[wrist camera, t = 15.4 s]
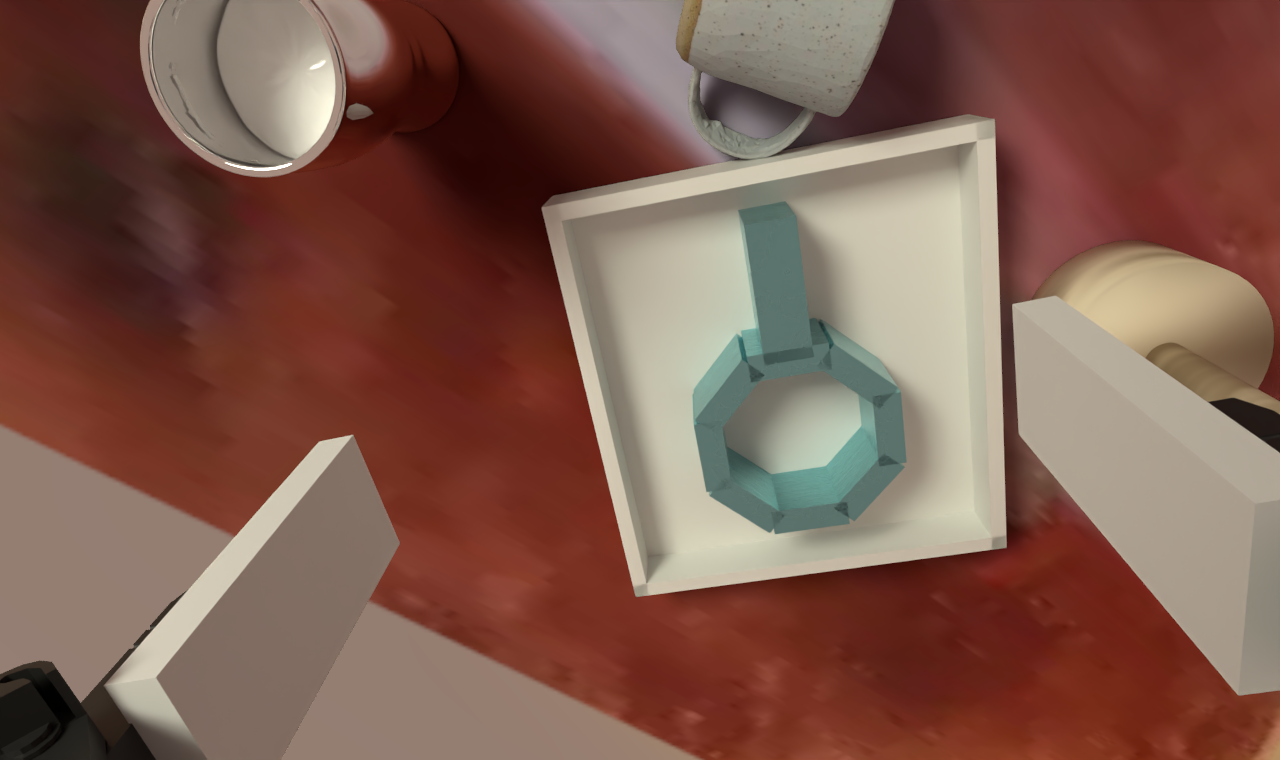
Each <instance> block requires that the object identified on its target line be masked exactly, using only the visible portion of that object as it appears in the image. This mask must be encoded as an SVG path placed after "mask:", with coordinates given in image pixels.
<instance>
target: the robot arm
mask: <svg viewBox="0 0 1280 760" xmlns="http://www.w3.org/2000/svg"><path fill="white" fill-rule="evenodd" d="M1012 310H1013V330H1014V350H1015V370H1016V390H1017V410H1018V429H1019V435H1020V436H1021V438H1022V439H1023V440H1024V441H1025V442H1026V444H1027V445H1028V446H1029V447H1030V448H1031V449H1032V451H1033V452H1034V453H1035V454H1036V455H1037V457H1038V458H1039V459H1040V460H1041V461H1042V463H1043V464H1044V465H1045V466H1046V467H1047V469H1048V470H1049V471H1050V472H1051V473H1052V474H1053V476H1054V477H1055V478H1056V479H1057V480H1058V482H1059V483H1060V484H1061V485H1062V486H1063V488H1064V489H1065V490H1066V491H1067V492H1068V494H1069V495H1070V496H1071V497H1072V498H1073V499H1074V501H1075V502H1076V503H1077V504H1078V505H1079V507H1080V508H1081V509H1082V510H1083V511H1084V513H1085V514H1086V515H1087V516H1088V517H1089V519H1090V520H1091V521H1092V522H1093V523H1094V524H1095V526H1096V527H1097V528H1098V529H1099V530H1100V532H1101V533H1102V534H1103V535H1104V536H1105V538H1106V539H1107V540H1108V541H1109V542H1110V543H1111V545H1112V546H1113V547H1114V548H1115V549H1116V551H1117V552H1118V553H1119V554H1120V555H1121V557H1122V558H1123V559H1124V560H1125V561H1126V563H1127V564H1128V565H1129V566H1130V567H1131V568H1132V570H1133V571H1134V572H1135V573H1136V574H1137V576H1138V577H1139V578H1140V579H1141V580H1142V582H1143V583H1144V584H1145V585H1146V586H1147V588H1148V589H1149V590H1150V591H1151V592H1152V593H1153V595H1154V596H1155V597H1156V598H1157V599H1158V601H1159V602H1160V603H1161V604H1162V605H1163V607H1164V608H1165V609H1166V610H1167V611H1168V613H1169V614H1170V615H1171V616H1172V617H1173V618H1174V620H1175V621H1176V622H1177V623H1178V624H1179V626H1180V627H1181V628H1182V629H1183V630H1184V632H1185V633H1186V634H1187V635H1188V636H1189V637H1190V639H1191V640H1192V641H1193V642H1194V643H1195V645H1196V646H1197V647H1198V648H1199V649H1200V651H1201V652H1202V653H1203V654H1204V655H1205V657H1206V658H1207V659H1208V660H1209V661H1210V662H1211V664H1212V665H1213V666H1214V667H1215V668H1216V670H1217V671H1218V672H1219V673H1220V674H1221V676H1222V677H1223V678H1224V679H1225V680H1226V682H1227V683H1228V684H1229V685H1230V686H1231V687H1232V689H1233V690H1234V691H1235V692H1236V693H1237V695H1238V696H1239V695H1247V694H1255V693H1262V692H1270V691H1278V690H1280V414H1278V413H1277V412H1275V411H1274V410H1271V409H1268V408H1264V407H1261V406H1258V405H1255V404H1252V403H1249V402H1246V401H1243V400H1240V399H1237V398H1234V397H1233V398H1227V399H1222V400H1216V401H1210V402H1207V401H1205V400H1204V399H1202V398H1201V397H1200V396H1198V395H1197V394H1195V393H1194V392H1192V391H1191V390H1190V389H1188V388H1187V387H1185V386H1184V385H1182V384H1181V383H1180V382H1178V381H1177V380H1175V379H1174V378H1173V377H1171V376H1170V375H1168V374H1167V373H1165V372H1164V371H1163V370H1161V369H1160V368H1158V367H1157V366H1155V365H1154V364H1153V363H1151V362H1150V361H1148V360H1147V359H1145V358H1144V357H1143V356H1141V355H1140V354H1138V353H1137V352H1135V351H1134V350H1133V349H1131V348H1130V347H1128V346H1127V345H1126V344H1124V343H1123V342H1121V341H1120V340H1118V339H1117V338H1116V337H1114V336H1113V335H1111V334H1110V333H1108V332H1107V331H1106V330H1104V329H1103V328H1101V327H1100V326H1098V325H1097V324H1096V323H1094V322H1093V321H1091V320H1090V319H1088V318H1087V317H1086V316H1084V315H1083V314H1081V313H1080V312H1079V311H1077V310H1076V309H1074V308H1073V307H1071V306H1070V305H1069V304H1067V303H1066V302H1064V301H1063V300H1061V299H1060V298H1059V297H1057V296H1051V297H1046V298H1041V299H1036V300H1031V301H1026V302H1021V303H1016V304H1012ZM399 544H400V542H399V540H398V538H397V535H396V533H395V531H394V528H393V526H392V524H391V522H390V519H389V517H388V515H387V512H386V510H385V508H384V505H383V503H382V501H381V498H380V496H379V494H378V491H377V489H376V487H375V484H374V482H373V480H372V477H371V475H370V473H369V470H368V468H367V466H366V464H365V461H364V459H363V457H362V454H361V452H360V450H359V447H358V445H357V443H356V440H355V438H354V436H353V435H350V436H345V437H340V438H335V439H330V440H325V441H320V442H318V444H317V445H316V446H315V447H314V448H313V449H312V450H311V452H310V453H309V454H308V455H307V456H306V457H305V458H304V459H303V461H302V462H301V463H300V464H299V465H298V466H297V467H296V468H295V470H294V471H293V472H292V473H291V474H290V475H289V476H288V478H287V479H286V480H285V481H284V482H283V483H282V484H281V485H280V487H279V488H278V489H277V490H276V491H275V492H274V493H273V495H272V496H271V497H270V498H269V499H268V500H267V501H266V502H265V504H264V505H263V506H262V507H261V508H260V509H259V510H258V511H257V513H256V514H255V515H254V516H253V517H252V518H251V519H250V521H249V522H248V523H247V524H246V525H245V526H244V527H243V528H242V530H241V531H240V532H239V533H238V534H237V535H236V536H235V538H234V539H233V540H232V541H231V542H230V543H229V544H228V546H227V547H226V548H225V549H224V550H223V551H222V552H221V553H220V555H219V556H218V557H217V558H216V559H215V560H214V561H213V562H212V564H211V565H210V566H209V567H208V568H207V569H206V571H204V573H203V574H202V575H201V576H200V577H199V578H198V579H197V581H196V582H195V583H194V584H193V585H192V586H191V587H190V589H188V590H187V591H186V592H184V593H183V594H182V595H180V596H179V597H178V598H176V599H175V600H174V601H172V602H171V603H170V604H169V605H168V606H167V608H166V609H165V610H164V611H163V612H162V613H161V614H160V615H159V616H158V618H157V619H156V620H155V621H154V622H153V623H152V624H151V625H150V627H151V628H150V630H146V631H145V632H144V633H143V634H142V635H141V637H140V638H139V639H138V640H137V641H136V642H135V643H134V648H133V649H129V650H128V651H127V652H126V653H125V654H124V655H123V657H122V658H121V659H120V660H119V661H118V662H117V663H116V664H115V666H114V667H113V668H112V669H111V670H110V671H109V672H108V674H107V675H106V676H105V677H104V678H103V679H102V680H101V681H100V682H99V684H98V685H97V686H96V687H95V688H94V689H93V690H92V691H91V692H90V694H89V695H88V696H87V697H86V698H85V699H84V700H83V701H82V702H81V703H80V702H79V700H78V699H77V698H76V696H75V695H74V694H73V692H72V690H71V689H70V687H69V686H68V685H67V683H66V682H65V680H64V679H63V677H62V676H61V674H60V673H59V672H58V670H57V669H56V667H55V666H54V664H53V663H52V662H48V661H36V662H32V663H28V664H24V665H21V666H19V667H16V668H14V669H11V670H9V671H7V672H5V673H3V674H0V760H281V758H282V757H283V755H284V753H285V751H286V749H287V748H288V746H289V744H290V742H291V740H292V738H293V737H294V735H295V733H296V731H297V730H298V728H299V726H300V724H301V722H302V720H303V719H304V717H305V715H306V713H307V711H308V710H309V708H310V706H311V704H312V702H313V700H314V699H315V697H316V695H317V693H318V691H319V690H320V688H321V686H322V684H323V682H324V680H325V679H326V677H327V675H328V673H329V671H330V669H331V668H332V666H333V664H334V662H335V660H336V658H337V657H338V655H339V653H340V651H341V650H342V648H343V646H344V644H345V642H346V640H347V639H348V637H349V635H350V633H351V631H352V629H353V628H354V626H355V624H356V622H357V620H358V619H359V617H360V615H361V613H362V611H363V609H364V608H365V606H366V604H367V602H368V600H369V599H370V597H371V595H372V593H373V591H374V590H375V588H376V586H377V584H378V582H379V580H380V579H381V577H382V575H383V573H384V571H385V570H386V568H387V566H388V564H389V562H390V560H391V559H392V557H393V555H394V553H395V551H396V549H397V548H398V546H399Z"/></svg>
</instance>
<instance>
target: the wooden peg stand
mask: <svg viewBox="0 0 1280 760" xmlns="http://www.w3.org/2000/svg"><path fill="white" fill-rule="evenodd" d="M1051 296H1057V297H1059V298H1060V299H1061V300H1063V301H1064V302H1066V303H1067V304H1069V305H1070V306H1071V307H1073V308H1074V309H1076V310H1077V311H1079V312H1080V313H1081V314H1083V315H1084V316H1086V317H1087V318H1088V319H1090V320H1091V321H1093V322H1094V323H1096V324H1097V325H1098V326H1100V327H1101V328H1103V329H1104V330H1106V331H1107V332H1108V333H1110V334H1111V335H1113V336H1114V337H1116V338H1117V339H1118V340H1120V341H1121V342H1123V343H1124V344H1126V345H1127V346H1128V347H1130V348H1131V349H1133V350H1134V351H1135V352H1137V353H1138V354H1140V355H1141V356H1143V357H1144V358H1145V359H1147V360H1148V361H1150V362H1151V363H1153V364H1154V365H1155V366H1157V367H1158V368H1160V369H1161V370H1163V371H1164V372H1165V373H1167V374H1168V375H1170V376H1171V377H1173V378H1174V379H1175V380H1177V381H1178V382H1180V383H1181V384H1182V385H1184V386H1185V387H1187V388H1188V389H1190V390H1191V391H1192V392H1194V393H1195V394H1197V395H1198V396H1200V397H1201V398H1202V399H1204V400H1205V401H1207V402H1210V401H1216V400H1222V399H1227V398H1233V397H1234V398H1237V399H1240V400H1243V401H1246V402H1249V403H1252V404H1255V405H1258V406H1261V407H1264V408H1268V409H1271V410H1274V411H1275V412H1277V413H1278V414H1280V401H1278V400H1276V399H1274V398H1273V397H1271V396H1269V395H1267V394H1266V393H1264V392H1262V391H1260V390H1259V389H1258V387H1259V386H1260V384H1261V383H1262V381H1263V379H1264V376H1265V374H1266V372H1267V370H1268V367H1269V364H1270V361H1271V358H1272V352H1273V347H1274V328H1273V321H1272V317H1271V314H1270V311H1269V308H1268V306H1267V304H1266V302H1265V301H1264V299H1263V297H1262V296H1261V295H1260V293H1259V292H1258V291H1257V290H1256V289H1255V288H1254V287H1253V286H1252V285H1251V284H1250V283H1249V282H1248V281H1246V280H1245V279H1243V278H1242V277H1240V276H1239V275H1237V274H1235V273H1233V272H1230V271H1228V270H1226V269H1223V268H1221V267H1218V266H1216V265H1213V264H1210V263H1208V262H1205V261H1203V260H1200V259H1197V258H1195V257H1192V256H1190V255H1187V254H1184V253H1182V252H1179V251H1176V250H1174V249H1171V248H1169V247H1166V246H1163V245H1160V244H1157V243H1153V242H1147V241H1140V240H1125V241H1116V242H1111V243H1107V244H1103V245H1099V246H1097V247H1094V248H1091V249H1088V250H1086V251H1084V252H1082V253H1080V254H1078V255H1076V256H1075V257H1073V258H1071V259H1070V260H1068V261H1067V262H1065V263H1064V264H1063V265H1061V266H1060V267H1059V268H1058V269H1056V270H1055V271H1054V272H1053V273H1052V274H1051V275H1050V276H1049V277H1048V278H1047V279H1046V280H1045V281H1044V282H1043V284H1042V285H1041V286H1040V287H1039V289H1038V290H1037V291H1036V293H1035V295H1034V296H1033V298H1032V299H1031V300H1036V299H1041V298H1046V297H1051Z"/></svg>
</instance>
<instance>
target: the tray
mask: <svg viewBox="0 0 1280 760" xmlns="http://www.w3.org/2000/svg"><path fill="white" fill-rule="evenodd" d="M783 201H786V203H787V204H788V205H789V207H790V208H791V209H792V211H793V212H794V213H795V215H796V217H797V226H798V234H799V242H800V250H801V258H802V266H803V274H804V282H805V290H806V298H807V306H808V314H809V319H811V318H816V319H817V321H818V322H819V321H820V319H822V320H823V321H825V322H826V323H828V324H829V325H831V326H832V327H833V328H835V329H836V330H838V331H839V332H841V333H842V334H844V335H845V336H847V337H848V338H849V339H851V340H852V341H854V342H855V343H857V344H858V345H860V346H861V347H863V348H864V349H866V350H867V351H868V352H870V353H871V354H873V355H874V356H876V357H877V358H879V359H880V361H881V362H882V364H883V365H884V367H885V368H886V370H887V371H888V373H889V374H890V376H891V377H892V379H893V380H894V382H895V383H896V385H897V386H898V388H899V390H900V391H901V399H902V411H903V423H904V436H905V448H906V460H907V463H903V465H904V467H905V468H904V469H903V470H902V471H901V472H900V473H899V474H898V475H897V476H896V477H895V478H894V479H893V481H892V482H891V483H890V484H889V485H888V486H887V487H886V488H885V489H884V490H883V491H882V492H881V493H880V495H879V496H878V497H877V498H876V499H875V500H874V501H873V502H872V503H871V504H870V505H869V506H868V507H867V509H866V510H865V511H864V512H863V513H862V514H861V515H860V516H859V517H858V518H857V519H856V520H855V521H853V520H852V519H850V518H849V521H850V524H845V525H838V526H831V527H824V528H816V529H809V530H802V531H795V532H788V533H781V534H775V533H774V529H773V530H772V531H771V532H770V533H768V532H767V531H765V530H764V529H762V528H760V527H759V526H757V525H755V524H754V523H752V522H751V521H749V520H747V519H746V518H744V517H742V516H741V515H739V514H738V513H736V512H734V511H733V510H731V509H729V508H728V507H726V506H725V505H723V504H721V503H720V502H718V501H716V500H715V499H713V498H712V497H710V496H709V492H706V487H705V482H704V477H703V472H702V466H701V461H700V456H699V451H698V445H697V440H696V435H695V430H694V423H693V397H692V394H694V388H695V387H696V385H697V384H698V383H699V381H700V380H701V379H702V378H703V376H704V375H705V374H706V372H707V371H708V370H709V368H710V367H711V366H712V365H713V363H714V362H715V361H716V359H717V358H718V357H719V355H720V354H721V353H722V351H723V350H724V349H725V348H726V346H727V345H728V344H729V342H730V341H731V340H732V338H733V337H734V336H735V334H736V333H737V334H738V335H740V336H741V337H742V334H741V330H747V329H753V328H756V326H755V320H754V313H753V307H752V300H751V293H750V287H749V280H748V273H747V267H746V260H745V253H744V247H743V240H742V234H741V227H740V220H739V214H738V210H741V209H746V208H752V207H757V206H762V205H768V204H773V203H778V202H783ZM541 208H542V212H543V217H544V221H545V225H546V229H547V233H548V237H549V241H550V245H551V250H552V254H553V258H554V262H555V266H556V270H557V274H558V278H559V283H560V287H561V291H562V295H563V299H564V303H565V307H566V311H567V316H568V320H569V324H570V328H571V332H572V336H573V340H574V344H575V349H576V353H577V357H578V361H579V365H580V369H581V373H582V377H583V382H584V386H585V390H586V394H587V398H588V402H589V406H590V410H591V415H592V419H593V423H594V427H595V431H596V435H597V439H598V443H599V448H600V452H601V456H602V460H603V464H604V468H605V472H606V476H607V481H608V485H609V489H610V493H611V497H612V501H613V505H614V509H615V514H616V518H617V522H618V526H619V530H620V534H621V538H622V542H623V547H624V551H625V555H626V559H627V563H628V567H629V571H630V575H631V580H632V584H633V588H634V592H635V596H636V597H640V596H647V595H655V594H662V593H670V592H677V591H685V590H692V589H700V588H707V587H715V586H722V585H730V584H737V583H745V582H753V581H760V580H768V579H775V578H783V577H790V576H798V575H805V574H813V573H820V572H828V571H835V570H843V569H850V568H858V567H865V566H873V565H880V564H888V563H896V562H903V561H911V560H918V559H926V558H933V557H941V556H948V555H956V554H963V553H971V552H978V551H986V550H993V549H1001V548H1007V539H1006V504H1005V468H1004V432H1003V396H1002V360H1001V324H1000V289H999V253H998V217H997V181H996V145H995V119H991V118H986V117H980V116H975V115H970V114H966V115H961V116H956V117H951V118H946V119H941V120H936V121H931V122H926V123H921V124H916V125H910V126H905V127H900V128H895V129H890V130H885V131H880V132H875V133H870V134H865V135H860V136H855V137H849V138H844V139H839V140H834V141H829V142H824V143H819V144H814V145H809V146H804V147H799V148H793V149H788V150H783V151H780V152H778V153H776V154H773V155H771V156H769V157H766V158H762V159H754V160H749V159H738V160H732V161H727V162H722V163H717V164H712V165H707V166H702V167H697V168H692V169H687V170H682V171H676V172H671V173H666V174H661V175H656V176H651V177H646V178H641V179H636V180H631V181H626V182H621V183H615V184H610V185H605V186H600V187H595V188H590V189H585V190H580V191H575V192H570V193H565V194H559V195H554V196H552V197H551V198H550V199H549V200H548V201H547V202H546V203H545V204H544V205H543V206H542V207H541ZM861 426H862V425H861V416H860V406H859V396H858V394H857V393H856V392H854V391H853V390H851V389H850V388H848V387H847V386H845V385H844V384H842V383H841V382H839V381H838V380H836V379H835V378H833V377H832V376H830V375H829V374H827V373H826V372H824V371H819V372H813V373H807V374H801V375H795V376H788V377H782V378H776V379H770V380H764V381H759V382H758V384H757V385H756V386H755V387H754V389H753V390H752V391H751V392H750V394H749V395H748V396H747V397H746V399H745V400H744V401H743V402H742V404H741V405H740V406H739V407H738V409H737V410H736V411H735V412H734V414H733V415H732V416H731V417H730V419H729V420H728V421H727V422H726V424H725V425H724V431H725V437H726V443H727V447H729V448H731V449H732V450H734V451H735V452H737V453H738V454H740V455H742V456H743V457H745V458H746V459H748V460H749V461H751V462H753V463H754V464H756V465H757V466H759V467H761V468H762V469H764V470H765V471H767V472H768V473H770V474H776V473H783V472H790V471H797V470H803V469H810V468H817V467H823V466H826V465H827V464H828V463H829V462H830V461H831V460H832V459H833V457H834V456H835V455H836V454H837V453H838V452H839V451H840V450H841V448H842V447H843V446H844V445H845V444H846V443H847V442H848V440H849V439H850V438H851V437H852V436H853V435H854V434H855V433H856V431H857V430H858V429H859V428H860V427H861Z"/></svg>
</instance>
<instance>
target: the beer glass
mask: <svg viewBox="0 0 1280 760" xmlns="http://www.w3.org/2000/svg"><path fill="white" fill-rule="evenodd" d="M140 54H141V63H142V69H143V73H144V77H145V81H146V84H147V87H148V90H149V92H150V95H151V97H152V99H153V101H154V103H155V105H156V107H157V109H158V111H159V112H160V114H161V116H162V117H163V119H164V120H165V122H166V123H167V125H168V126H169V127H170V128H171V130H172V131H173V132H174V133H175V134H176V135H177V137H178V138H179V139H180V140H181V141H182V142H183V143H184V144H185V145H186V146H188V147H189V148H190V149H191V150H192V151H194V152H195V153H196V154H198V155H199V156H200V157H202V158H203V159H205V160H206V161H208V162H210V163H212V164H214V165H216V166H218V167H220V168H222V169H224V170H227V171H230V172H233V173H236V174H240V175H245V176H251V177H275V176H281V175H285V174H290V173H300V172H308V171H315V170H320V169H325V168H329V167H334V166H338V165H341V164H344V163H346V162H349V161H351V160H354V159H356V158H359V157H361V156H363V155H365V154H367V153H369V152H370V151H372V150H373V149H375V148H376V147H378V146H379V145H380V144H382V143H383V142H384V141H386V140H387V139H388V138H389V137H390V136H391V135H392V134H393V133H394V132H414V131H419V130H422V129H425V128H427V127H429V126H431V125H433V124H434V123H436V122H437V121H438V120H440V119H441V118H442V117H443V116H444V115H445V113H446V112H447V111H448V110H449V108H450V106H451V105H452V103H453V101H454V98H455V96H456V93H457V89H458V84H459V62H458V57H457V53H456V50H455V47H454V45H453V42H452V40H451V38H450V36H449V35H448V33H447V32H446V30H445V29H444V27H443V26H442V25H441V24H440V22H439V21H438V20H437V19H436V18H435V17H434V16H433V15H431V14H430V13H429V12H428V11H426V10H425V9H423V8H421V7H420V6H418V5H416V4H413V3H411V2H408V1H404V0H150V1H149V4H148V6H147V8H146V11H145V14H144V18H143V22H142V27H141V36H140Z"/></svg>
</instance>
